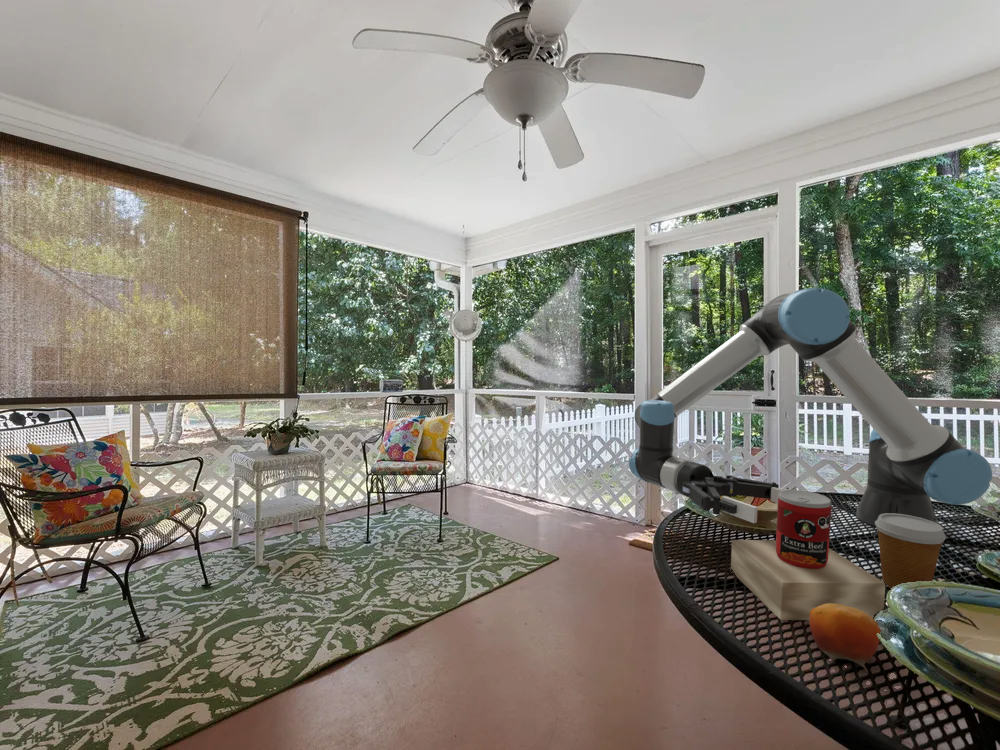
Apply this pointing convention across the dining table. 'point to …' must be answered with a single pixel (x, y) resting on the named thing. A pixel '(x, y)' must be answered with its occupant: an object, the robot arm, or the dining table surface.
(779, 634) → the dining table surface
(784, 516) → the canned food
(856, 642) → the fruit
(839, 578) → the birch block
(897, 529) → the disposable coffee cup
